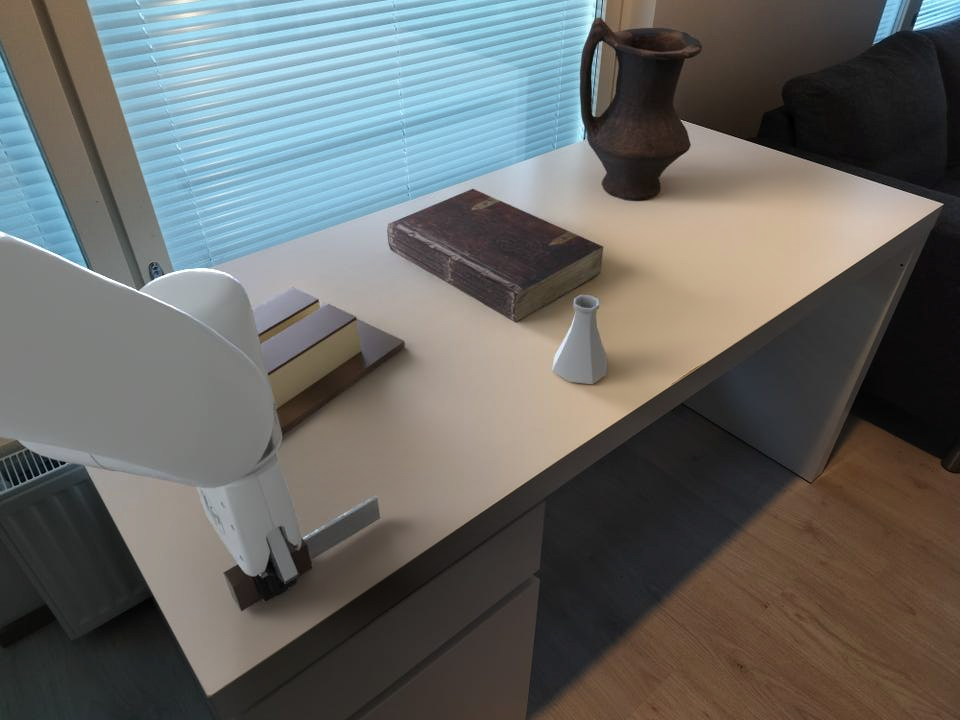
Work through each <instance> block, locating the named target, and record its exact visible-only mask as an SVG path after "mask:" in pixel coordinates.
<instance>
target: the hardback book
mask: <svg viewBox="0 0 960 720" xmlns="http://www.w3.org/2000/svg"><path fill="white" fill-rule="evenodd" d="M386 232H387V234H386V235H387V243H388V247H389V249H390V251H392V252H394V253H396V254H398V255H399V256H400V257H402V258H404V259H405V260H408V261H410V262H411V263H412V264H414V265H417V266H418V267H419V268H421V269H423V270H425V271H426V272H428V273H430V274H432V275H433V276H435V277H437V278H438V279H440V280H442V281H444V282H445V283H447V284H449V285H451V286H453V287H454V288H455V289H457V290H459V291H461V292H463V293H464V294H466V295H468V296H469V297H471V298H473V299H474V300H476V301H478V302H480V303H481V304H483V305H485V306H487V307H488V308H490V309H492V310H494V311H495V312H497V313H499V314H500V315H502V316H503V317H506V318H507V319H509V320H511V321H513V322H514V323H518V322H519V321H521V320H523V319H524V318H526V317H528V316H529V315H531V314H533V313H535V312H537V311H538V310H540V309H541V308H543V307H545V306H547V305H548V304H550V303H552V302H554V301H555V300H557V299H558V298H561V297H562V296H564V295H566V294H568V293H569V292H570V291H573V290H574V289H576V288H577V287H579V286H581V285H583V284H584V283H586V282H588V281H590V280H591V279H593V278H595V277H597V276H598V275H600V274H601V271H602V264H603V263H602V262H603V254H604V246H603V245H601V244H599V243H596V242H594V241H593V240H590V239H587V238H585V237H584V236H581V235H578V234H576V233H574V232H572V231H570V230H567V229H565V228H563V227H561V226H558V225H556V224H554V223H551V222H549V221H547V220H545V219H542V218H541V217H538V216H535V214H534V215H533V214H531V213H529V212H527V211H525V210H522V209H520V208H518V207H515V206H514V205H511V204H508V203H506V202H504V201H502V200H499V199H498V198H496V197H493V196H491V195H488V194H487V193H484V192H481V191H479V190H477V189H475V188H470V189H469V190H466V191H464V192H462V193H459V194H456V195H454V196H452V197H449V198H447V199H445V200H441V201H440V202H438V203H434V204H433V205H429V206H428V207H425V208H423V209H421V210H418V211H416V212H413V213H411V214H408V215H406V216H403V217H401V218H399V219H396V220H394V221H392V222H390V223H389V222H388V224H387V230H386Z"/></svg>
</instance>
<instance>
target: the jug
mask: <svg viewBox="0 0 960 720" xmlns="http://www.w3.org/2000/svg"><path fill="white" fill-rule="evenodd" d="M601 42H603V43H605V44H606V45H608V46H609V47H611V48H612V49H613V51H615V53H616V58H617V63H618V64H617V76H616V80H615V81H616V82H615V93H614V96H613V98H612V100H611V102H610V104H609V105H608V107H607V108H606V109H605V110H604V111H603V112H602V113H601V114H600V115H599V116H594V115H593V110H592V109H593V83H592V73H593V71H592V70H593V69H592V66H593V62H594V57H595V53H596V50H597V47H598V45H599V43H601ZM702 49H703V45H702V44H701V42H700V41H699V40H698V39H697V38H696V37H692V36H691V35H690V34H688V33H687V32H683V31H680V30H676V29H672V28H666V27H640V28H639V27H637V28H629V29H624V30H619V31H613V30H612V28H611V27H610V26H609V25H608V24H607V23H606V21H604V19H603V18H602V16H601V17H600V16H599V17H596V18H594V19H593V22H592V24H591V26H590V29H589V32H588V35H587V38H586V40H585V42H584V45H583V47H582V52H581V55H580V56H581V59H580V67H579V101H580V103H579V104H580V116H581V122H582V124H583V126H584V129H585V132H586V139H587V140H586V141H587V142H588V145H589V146H590V148H591V149H592V151H593V152H594V153H595V155H596V157H597V158H598V159H599V161H600V162H601V164H602V166H603V168H604V170H605V172H606V173H605V176H604V177H603V179H601V185H602V189H603V190H604V191H605V192H606V194H608V195H609V196H611V197H615V198H619V199H621V200H624V201H646V200H649V199H652V198H654V197H655V196H657V195H659V194H660V192H661V189H662V185H661V182H660V177H661V175H662V174H663V173H664V171H665V170H666V169H668V167H669V166H671V165H672V164H673V163H674V162H675V161H676V160H678V159H679V158H680V157H681V156H683V155H685V154H686V153H688V151H689V150H690V148H691V147H692V145H691V141H690V137H689V133H688V130H687V128H686V126H685V125H684V123H683V122H682V119H680V116H679V115H678V113H677V111H676V109H675V106H674V99H675V93H676V90H677V86H678V82H679V79H680V76H681V72H682V69H683V66H684V64H685V60H686V59H692V58H695V57H696V56H698V55H699V54H700V53H701V52H702Z"/></svg>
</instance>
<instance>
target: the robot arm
mask: <svg viewBox="0 0 960 720" xmlns="http://www.w3.org/2000/svg"><path fill="white" fill-rule="evenodd" d="M249 296H250V295H249V294H248V292H247V290H246V288H245V287H244V286H243V285H242V283H241V282H240V281H239V279H236V278H235V277H233V276H232V275H231V274H228V273H226V272H223V271H220V270H216V269H210V268H191V269H190V268H189V269H184V270H178V271H174V272H170V273H167V274H164V275H162V276H159V277H157V278H154V279H153V280H151V281H150V282H148V283H145V285H144V286H142V287H141V288H140V289H139V290H137V289H134V288H132V287H130V286H127V285H125V284H123V283H120V282H118V281H115V280H113V279H110V278H108V277H106V276H104V275H101V274H99V273H97V272H94V271H92V270H90V269H88V268H85V267H84V266H81V265H79V264H77V263H75V262H73V261H70V260H68V259H67V258H65V257H62V256H60V255H59V254H56V253H53V252H51V251H49V250H46V249H45V248H42V247H41V246H38V245H35V244H33V243H31V242H28V241H26V240H23V239H20V238H18V237H17V236H13V235H11V234H10V233H9V234H8V233H6V232H4V231H1V230H0V439H8V440H15V441H18V442H19V443H20V444H21V445H22V446H23V447H24V448H26V449H28V450H29V451H31V452H33V453H35V454H37V455H39V456H41V457H42V456H43V457H45V458H48V459H51V460H55V461H58V462H64V463H69V464H75V465H80V466H84V467H90V468H95V469H101V470H105V471H110V472H120V473H126V474H131V475H135V476H140V477H146V478H151V479H157V480H161V481H166V482H171V483H176V484H181V485H185V486H189V487H196V491H197V494H198V497H199V500H200V504H201V507H202V510H203V512H204V514H205V516H206V518H207V519H208V521H209V523H210V524H211V526H212V527H213V529H214V531H215V533H217V536H219V538H220V540H221V542H222V543H223V545H224V546H225V547H226V549H227V551H228V552H229V553H230V555H231V557H233V559H234V561H235V562H236V564H238V565H239V566H240V568H241V569H242V570H243V571H244V573H246V574H247V575H250V576H255V580H256V583H257V586H258V589H259V592H260V595H261V597H262V599H261V600H263V601H264V602H269V601H270V600H272V599H273V598H276V597H277V596H280V595H282V594H283V593H286V592H287V591H288V590H289V589H290V588H291V587H294V586H295V585H296V584H297V582H298V581H297V578H299V577H300V576H299V574H298V571H297V569H296V566H295V564H294V561H293V559H292V557H291V554H290V552H289V548H288V545H287V542H288V543H289V544H290V546H291V547H292V548H293V550H295V549H296V550H297V551H299V549H300V547H301V543H302V538H303V537H302V533H301V528H300V523H299V519H298V515H297V512H296V508H295V505H294V502H293V498H292V496H291V492H290V489H289V487H288V483H287V480H286V477H285V473H284V471H283V467H282V465H281V462H280V460H279V457H278V454H277V453H278V451H279V450H280V448H281V445H282V441H283V435H282V432H281V428H280V423H279V419H278V415H277V411H276V407H275V402H274V398H273V394H272V390H271V386H270V382H269V377H268V373H267V369H266V365H265V361H264V357H263V352H262V348H261V344H260V340H259V336H258V331H257V327H256V323H255V319H254V315H253V311H252V309H253V307H252V303H251V300H250V297H249ZM301 537H302V538H301ZM286 540H287V541H286ZM269 554H270V555H271V556H270V557H269ZM298 576H299V577H298ZM296 577H297V578H296Z"/></svg>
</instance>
